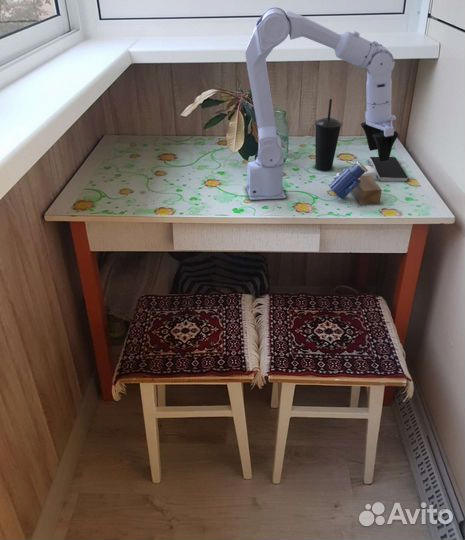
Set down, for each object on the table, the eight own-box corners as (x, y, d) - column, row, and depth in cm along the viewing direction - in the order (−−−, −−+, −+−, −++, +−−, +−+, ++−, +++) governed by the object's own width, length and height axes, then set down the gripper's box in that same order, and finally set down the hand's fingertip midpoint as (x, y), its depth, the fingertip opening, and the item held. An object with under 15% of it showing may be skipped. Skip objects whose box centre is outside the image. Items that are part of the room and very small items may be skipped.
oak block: (360, 205, 130) (362, 190, 127) (350, 189, 137) (352, 176, 135) (379, 204, 130) (381, 189, 128) (368, 189, 137) (370, 175, 135)
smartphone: (379, 177, 141) (369, 156, 153) (379, 181, 142) (368, 160, 154) (408, 177, 141) (395, 156, 153) (408, 181, 141) (394, 160, 154)
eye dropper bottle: (369, 159, 142) (332, 165, 138) (378, 174, 139) (340, 181, 136) (363, 169, 146) (327, 175, 142) (372, 184, 143) (335, 191, 140)
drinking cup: (329, 175, 145) (336, 105, 134) (305, 168, 149) (311, 100, 137) (341, 166, 150) (349, 98, 139) (318, 160, 154) (325, 93, 142)
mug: (332, 206, 129) (337, 169, 123) (325, 194, 135) (329, 158, 129) (368, 204, 130) (374, 167, 124) (359, 192, 135) (365, 157, 130)
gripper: (407, 105, 114) (405, 162, 122) (384, 90, 126) (384, 142, 134) (376, 111, 114) (376, 167, 122) (356, 95, 126) (358, 147, 134)
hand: (378, 154), depth 128 cm, fingers open, 7 cm apart
